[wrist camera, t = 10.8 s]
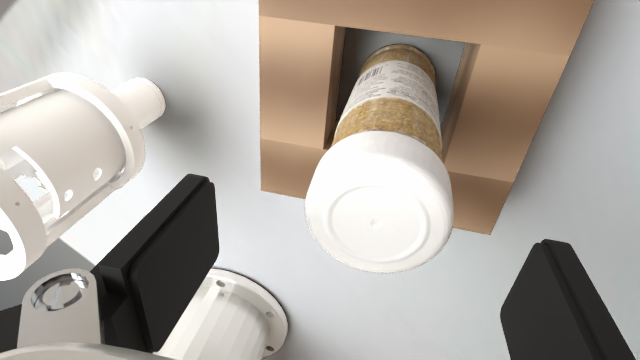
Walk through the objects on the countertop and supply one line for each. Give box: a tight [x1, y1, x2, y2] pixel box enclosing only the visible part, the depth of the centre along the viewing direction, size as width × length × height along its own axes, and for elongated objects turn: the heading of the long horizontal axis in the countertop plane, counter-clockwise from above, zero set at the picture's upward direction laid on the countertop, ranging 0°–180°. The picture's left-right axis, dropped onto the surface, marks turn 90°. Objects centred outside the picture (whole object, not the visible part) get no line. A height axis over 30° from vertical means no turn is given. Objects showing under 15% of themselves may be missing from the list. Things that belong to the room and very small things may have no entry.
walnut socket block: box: [259, 0, 594, 235], centre depth 20 cm, size 14×14×4 cm
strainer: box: [0, 72, 166, 280], centre depth 20 cm, size 7×7×15 cm
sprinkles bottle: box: [305, 44, 454, 273], centre depth 17 cm, size 5×5×14 cm
